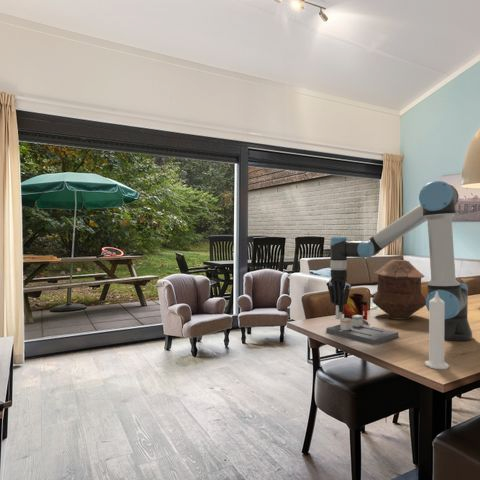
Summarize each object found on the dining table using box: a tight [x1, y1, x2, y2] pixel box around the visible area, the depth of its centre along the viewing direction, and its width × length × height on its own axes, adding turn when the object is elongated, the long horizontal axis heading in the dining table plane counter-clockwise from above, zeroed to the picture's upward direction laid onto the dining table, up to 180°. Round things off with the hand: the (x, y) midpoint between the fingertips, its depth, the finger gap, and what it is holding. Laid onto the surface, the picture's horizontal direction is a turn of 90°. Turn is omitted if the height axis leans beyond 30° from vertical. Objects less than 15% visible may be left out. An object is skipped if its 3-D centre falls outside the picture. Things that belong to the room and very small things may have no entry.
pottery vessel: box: [371, 259, 426, 320], centre depth 198 cm, size 26×26×30 cm
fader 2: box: [352, 315, 364, 327], centre depth 172 cm, size 3×4×4 cm
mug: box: [343, 292, 368, 321], centre depth 195 cm, size 10×14×12 cm
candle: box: [424, 291, 450, 370], centre depth 126 cm, size 7×7×25 cm
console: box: [325, 324, 399, 346], centre depth 165 cm, size 24×18×2 cm
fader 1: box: [339, 317, 352, 330], centre depth 166 cm, size 3×4×4 cm
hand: (338, 318), depth 180 cm, fingers closed
